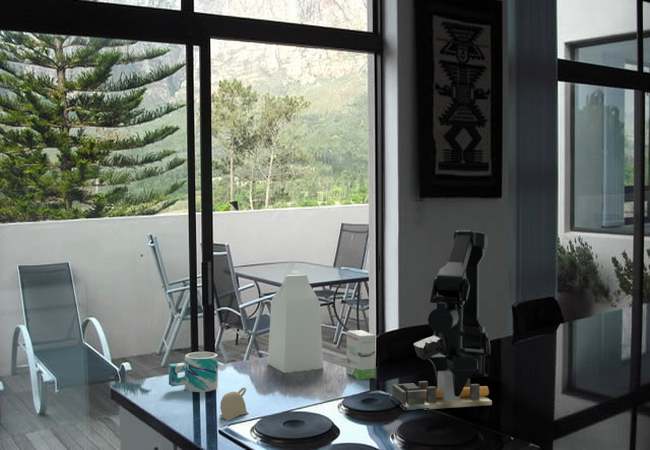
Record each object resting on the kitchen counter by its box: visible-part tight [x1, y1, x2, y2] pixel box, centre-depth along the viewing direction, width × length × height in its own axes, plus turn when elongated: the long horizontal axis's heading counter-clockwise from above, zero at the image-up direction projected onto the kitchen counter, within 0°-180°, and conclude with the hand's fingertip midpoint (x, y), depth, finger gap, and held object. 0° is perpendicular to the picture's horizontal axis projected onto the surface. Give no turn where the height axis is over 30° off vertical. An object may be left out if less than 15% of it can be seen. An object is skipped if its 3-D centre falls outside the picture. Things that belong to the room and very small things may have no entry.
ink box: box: [345, 329, 376, 380], centre depth 199 cm, size 9×5×12 cm, turn 25°
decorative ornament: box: [219, 387, 249, 422], centre depth 162 cm, size 4×8×5 cm, turn 143°
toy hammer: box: [403, 370, 490, 401], centre depth 175 cm, size 21×4×6 cm, turn 105°
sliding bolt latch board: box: [391, 378, 493, 410], centre depth 174 cm, size 22×9×4 cm, turn 105°
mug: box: [168, 351, 219, 393], centre depth 184 cm, size 8×12×8 cm
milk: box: [267, 274, 324, 374], centre depth 208 cm, size 12×12×26 cm
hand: (448, 391), depth 175 cm, fingers open, 9 cm apart
